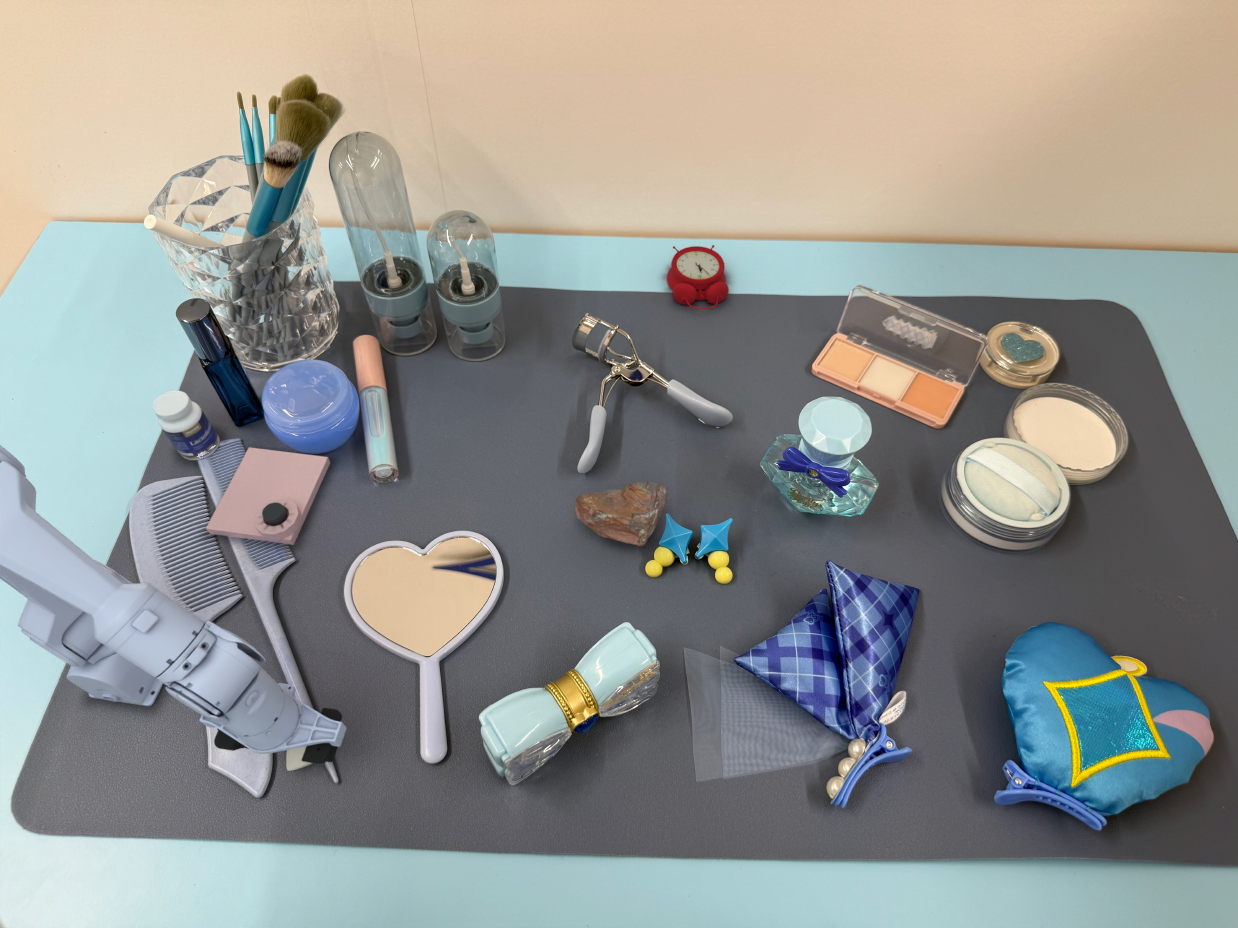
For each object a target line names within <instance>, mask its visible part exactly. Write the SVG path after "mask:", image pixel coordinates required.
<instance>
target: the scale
mask: <svg viewBox="0 0 1238 928" xmlns="http://www.w3.org/2000/svg"><path fill="white" fill-rule="evenodd" d="M330 465H331V461H330V458H329V457H328V456H323V455H322V456H321V455H314V454H307V453H297V452H291V451H290V452H288V451H282V450H273V449H265V448H258V447H250V446H249V447H248V448H247V450H246V452H245V454H244V456H243V458H242V460H241V462H240V463H239V465H238V467H237V469H236V470H235V473H234V475H233V476H232V479H230V482H229V484H228V486H227V487H226V490H225V491H224V493H223V495H222V497H221V499H220V501H219V503H218V505H217V507H216V508H215V511H214V512H213V514H212V516H211V518H210V519H209V521H208V523H207V526H206V527H205V530H206V531H207V532H208V533H209V534H211V535H215V536H216V535H217V536H225V537H231V538H239V539H240V538H241V539H246V540H247V539H248V540H255V541H261V542H269V543H277V544H284V545H291V546H293V545H295V543H296V541H297V538H298V536H299V534H300V532H301V529H302V527H303V526H304V523H305V521H306V519H307V516H308V514H309V512H310V509H311V507H312V505H313V503H314V501H315V498H316V496H317V494H318V491H319V489H320V487H321V486H322V483H323V480H324V479H325V476H326V474H327V471H328V469H329V467H330ZM274 502H277V503H280V504H282V505H283V507H284V508H285V510H286V511H287V518H286V520H285V521H284V522H283V523H282V524H280V525H276V526H272V525H269V524H268V523H267V522H266V520H265V519H264V517H263V516H262V511H263V509H264V508H265V507H266V506H267V505H268V504H270V503H274Z"/></svg>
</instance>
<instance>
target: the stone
mask: <svg viewBox="0 0 1238 928" xmlns="http://www.w3.org/2000/svg"><path fill="white" fill-rule="evenodd" d="M667 498H668V488H667V486H665V485H664V484H662V483H659V482H655V481H652V482H651V481H646V480H645V481H636V482H635V481H633V482H632V483H630V484H627V485H626V486H624V489H607V490H606V489H605V490H597V491H591V492H586V493H583V494H580V495H578V496H577V497H576V499H575V506H574V507H573V512H574V515H575V517H576V518H577V520H578V521H580V523H582V524H583V525H584V526H586V527H587V528H589V529H590V530H591V531H592V532H593V533H596V535H597V536H599V537H601V538H604V539H609V540H612V541H616V542H621V543H625V544H629V545H633V546H637V547H643V546H645V545H646V543H647V542H648V540H649V538H650V537H651V536H652V534H653V532H654V531H655V530H656V527H657V525H658V523H659V521H660V518H661V517H662V513H663V510H664V509H665V504H666V502H667Z"/></svg>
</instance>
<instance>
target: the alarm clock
mask: <svg viewBox="0 0 1238 928" xmlns="http://www.w3.org/2000/svg"><path fill="white" fill-rule="evenodd" d="M713 248H715V245H714V244H712V245H711V248H709V247H706V246H700V245H699V246H698V245H697V246H696V245H695V246H694V245H693V246H687V247H685V248H682V249H680V250H679V249H677V248H676V246H675V245H673V246H672V249H674V250H675V251H676V253H675V254H674V255H673V257H672V258H671V262H670V264H671V265H670V267H669V268H668V271H667V273H666V284H667V286H668V287H669V288H670V290H671V291H672V297H673V299H674V301H675V302H676V303H677V304H680V305H682V306H689V307H690V308H692V309H695V310H709V309H713V308H715V307H717V305H718V304H720V303H721V302H723V301H724V300H726V298H727V296H728V295H729V286H728V284H727V283H726V282H727V278H726V274H725V269H726V267H725V261H724V259H723V257H722V256H721V255H720V254H719V253H718V252H717V251H715V250H714V249H713ZM705 300H706V301H707V302H708V303H709V304H711V306H708V307H707V306H706V307H697V306H693V305H692V304H694V303H695V301H705ZM712 304H713V305H712Z"/></svg>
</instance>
